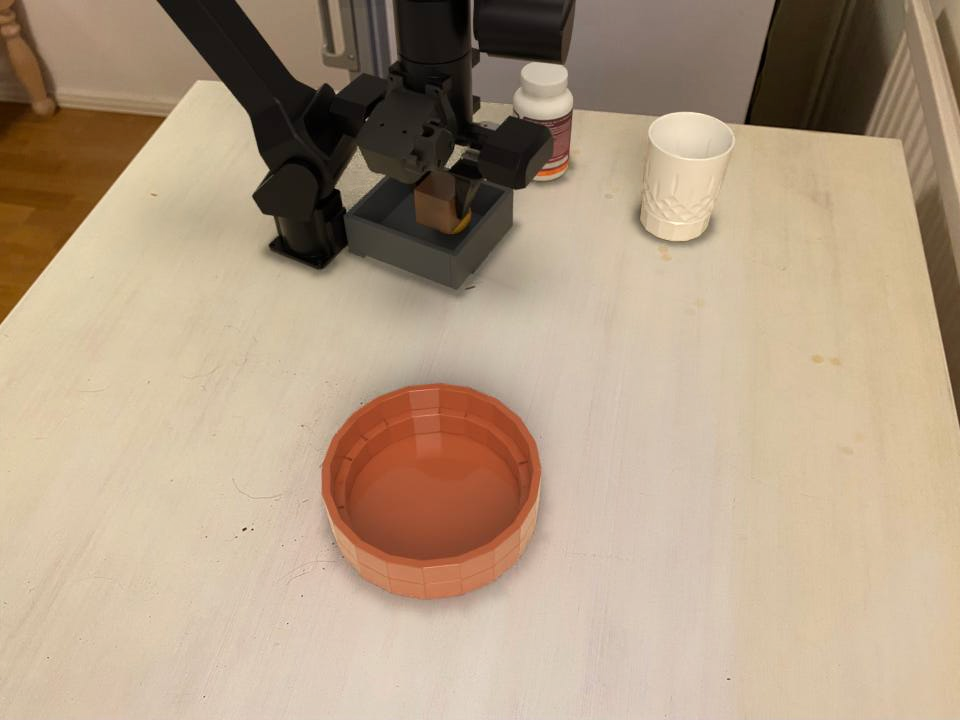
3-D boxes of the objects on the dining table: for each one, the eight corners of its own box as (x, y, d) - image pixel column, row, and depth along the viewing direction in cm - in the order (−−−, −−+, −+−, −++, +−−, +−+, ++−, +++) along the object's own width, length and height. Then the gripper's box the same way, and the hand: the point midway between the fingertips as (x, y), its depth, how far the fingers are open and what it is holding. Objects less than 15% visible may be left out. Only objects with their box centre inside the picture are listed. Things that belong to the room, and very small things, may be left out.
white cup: (712, 250, 79) (735, 164, 71) (630, 240, 80) (645, 154, 73) (713, 201, 84) (735, 115, 77) (636, 192, 85) (651, 107, 78)
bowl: (289, 541, 58) (276, 504, 55) (403, 397, 67) (398, 356, 63) (474, 641, 53) (473, 608, 50) (571, 471, 62) (576, 432, 58)
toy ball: (453, 245, 81) (418, 228, 80) (464, 209, 82) (429, 192, 81) (472, 234, 78) (436, 217, 76) (482, 198, 79) (447, 180, 77)
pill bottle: (580, 166, 88) (589, 72, 80) (541, 190, 86) (547, 95, 77) (538, 143, 91) (543, 50, 83) (499, 166, 88) (500, 72, 80)
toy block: (416, 222, 73) (413, 189, 71) (436, 200, 76) (434, 168, 73) (450, 234, 72) (449, 202, 70) (470, 212, 74) (469, 179, 72)
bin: (349, 252, 79) (342, 215, 76) (410, 190, 86) (407, 154, 82) (457, 293, 75) (455, 256, 72) (512, 225, 82) (513, 189, 78)
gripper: (269, 64, 60) (305, 229, 72) (491, 131, 54) (491, 299, 66) (356, 3, 66) (375, 164, 78) (562, 56, 60) (550, 222, 72)
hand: (442, 210), depth 73 cm, fingers closed on toy block, 4 cm apart
